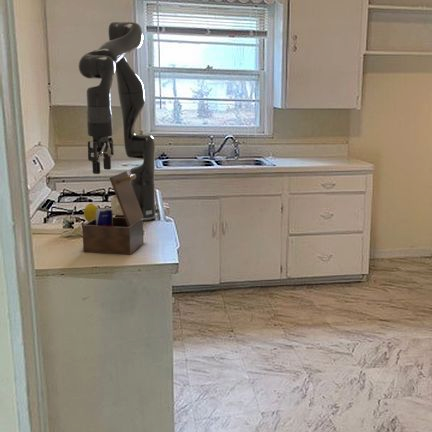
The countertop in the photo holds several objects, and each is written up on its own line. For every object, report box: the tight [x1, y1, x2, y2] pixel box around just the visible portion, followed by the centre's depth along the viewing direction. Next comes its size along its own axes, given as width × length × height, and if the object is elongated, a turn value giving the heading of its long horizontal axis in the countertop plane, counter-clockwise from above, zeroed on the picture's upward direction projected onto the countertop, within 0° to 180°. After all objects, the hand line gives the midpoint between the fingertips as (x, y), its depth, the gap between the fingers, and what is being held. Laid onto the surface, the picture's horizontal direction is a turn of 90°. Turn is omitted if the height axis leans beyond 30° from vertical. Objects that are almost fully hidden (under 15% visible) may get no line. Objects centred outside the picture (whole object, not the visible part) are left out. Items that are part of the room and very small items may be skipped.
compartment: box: [81, 216, 145, 255], centre depth 190 cm, size 16×13×9 cm
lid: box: [108, 170, 144, 227], centre depth 186 cm, size 16×13×5 cm
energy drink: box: [95, 207, 114, 226], centre depth 189 cm, size 5×5×12 cm
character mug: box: [110, 194, 125, 218], centre depth 209 cm, size 11×7×13 cm, turn 176°
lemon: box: [83, 202, 99, 222], centre depth 219 cm, size 6×6×8 cm
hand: (102, 171), depth 185 cm, fingers open, 8 cm apart
